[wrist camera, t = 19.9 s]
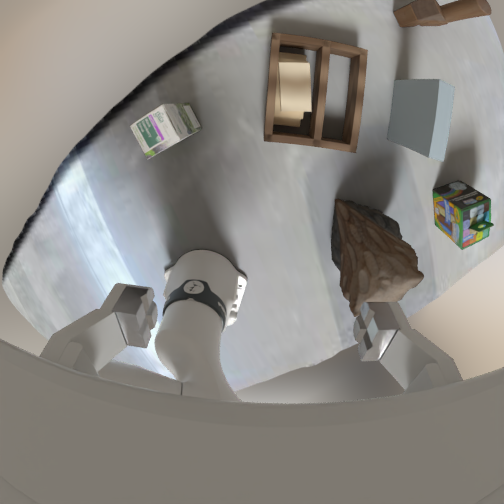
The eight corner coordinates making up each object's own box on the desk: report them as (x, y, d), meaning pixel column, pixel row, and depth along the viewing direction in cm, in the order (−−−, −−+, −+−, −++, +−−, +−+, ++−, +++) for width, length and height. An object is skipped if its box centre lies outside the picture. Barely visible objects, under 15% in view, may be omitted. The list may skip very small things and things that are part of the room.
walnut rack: (347, 147, 45) (355, 153, 41) (263, 137, 45) (264, 141, 41) (357, 53, 35) (367, 49, 31) (271, 39, 35) (272, 32, 31)
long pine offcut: (297, 125, 44) (299, 127, 42) (271, 123, 44) (272, 124, 42) (304, 57, 37) (306, 55, 35) (277, 54, 37) (278, 51, 35)
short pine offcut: (309, 111, 39) (311, 111, 37) (280, 110, 39) (281, 111, 37) (307, 64, 34) (309, 63, 33) (278, 64, 35) (278, 62, 33)
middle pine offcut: (301, 118, 41) (302, 119, 39) (273, 115, 41) (274, 115, 39) (305, 63, 36) (307, 61, 34) (277, 59, 36) (278, 57, 34)
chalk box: (434, 225, 52) (468, 260, 39) (431, 188, 48) (471, 218, 35) (462, 214, 50) (498, 246, 37) (461, 179, 46) (502, 205, 33)
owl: (389, 211, 51) (437, 265, 34) (368, 261, 57) (400, 325, 40) (335, 195, 50) (371, 249, 33) (316, 251, 57) (336, 319, 39)
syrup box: (161, 117, 43) (126, 127, 31) (189, 101, 42) (161, 103, 29) (176, 143, 46) (145, 161, 33) (204, 128, 44) (181, 140, 32)
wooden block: (392, 11, 29) (443, -12, 14) (432, 11, 27) (486, -4, 11) (399, 27, 31) (454, 9, 15) (439, 26, 28) (495, 16, 13)
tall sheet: (399, 142, 43) (443, 162, 31) (386, 139, 43) (428, 157, 31) (407, 84, 37) (454, 86, 24) (394, 80, 37) (439, 79, 24)
